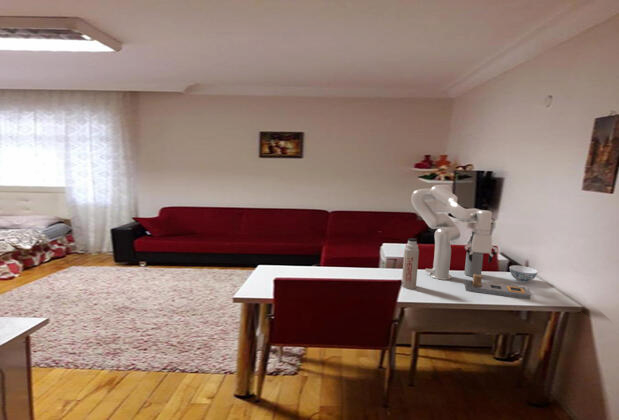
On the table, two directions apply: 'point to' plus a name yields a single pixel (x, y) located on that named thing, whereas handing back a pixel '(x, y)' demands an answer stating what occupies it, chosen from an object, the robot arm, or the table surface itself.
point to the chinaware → (523, 273)
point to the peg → (477, 280)
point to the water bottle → (473, 262)
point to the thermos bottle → (410, 264)
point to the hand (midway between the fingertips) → (480, 262)
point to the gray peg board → (498, 289)
